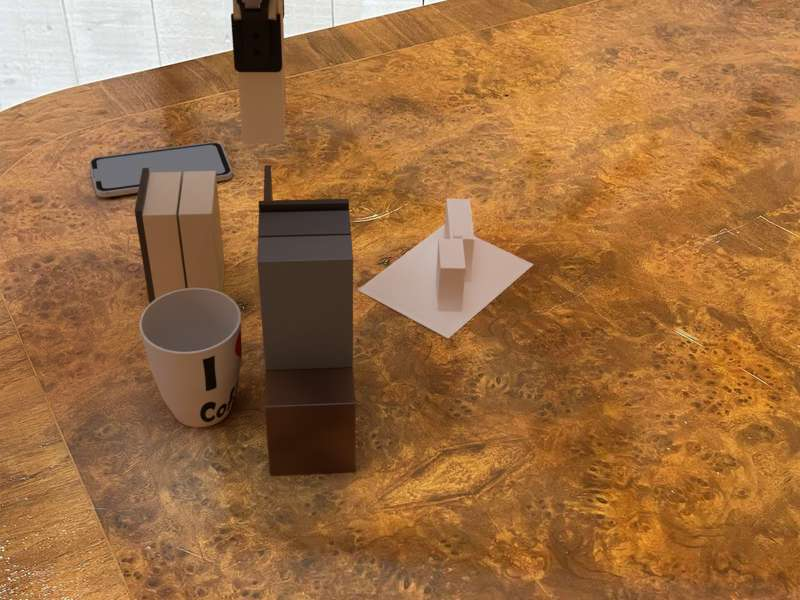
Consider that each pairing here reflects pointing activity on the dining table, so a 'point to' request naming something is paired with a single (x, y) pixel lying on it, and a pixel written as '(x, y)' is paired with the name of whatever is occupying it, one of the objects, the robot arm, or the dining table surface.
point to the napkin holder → (447, 275)
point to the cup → (194, 352)
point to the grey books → (306, 283)
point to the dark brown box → (310, 420)
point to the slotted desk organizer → (182, 230)
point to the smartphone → (156, 166)
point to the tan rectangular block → (263, 101)
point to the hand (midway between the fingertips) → (260, 41)
